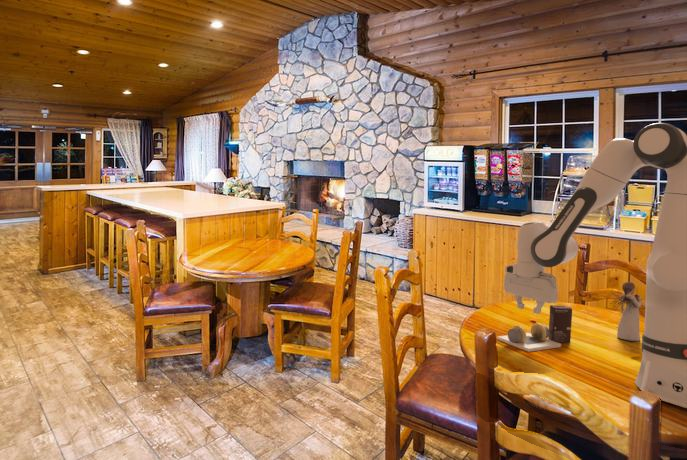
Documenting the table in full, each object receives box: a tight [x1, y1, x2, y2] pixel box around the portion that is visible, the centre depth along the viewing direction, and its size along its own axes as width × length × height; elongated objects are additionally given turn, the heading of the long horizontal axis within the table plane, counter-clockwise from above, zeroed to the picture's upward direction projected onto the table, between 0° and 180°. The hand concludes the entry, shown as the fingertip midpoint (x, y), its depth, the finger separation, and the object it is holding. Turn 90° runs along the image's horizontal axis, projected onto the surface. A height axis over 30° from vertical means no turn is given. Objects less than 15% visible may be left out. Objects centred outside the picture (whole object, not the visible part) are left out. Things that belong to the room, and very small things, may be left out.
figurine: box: [610, 281, 643, 342], centre depth 152 cm, size 10×10×20 cm
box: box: [547, 304, 573, 344], centre depth 149 cm, size 6×4×12 cm
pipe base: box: [496, 323, 562, 353], centre depth 146 cm, size 14×14×6 cm
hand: (528, 311), depth 146 cm, fingers open, 6 cm apart
